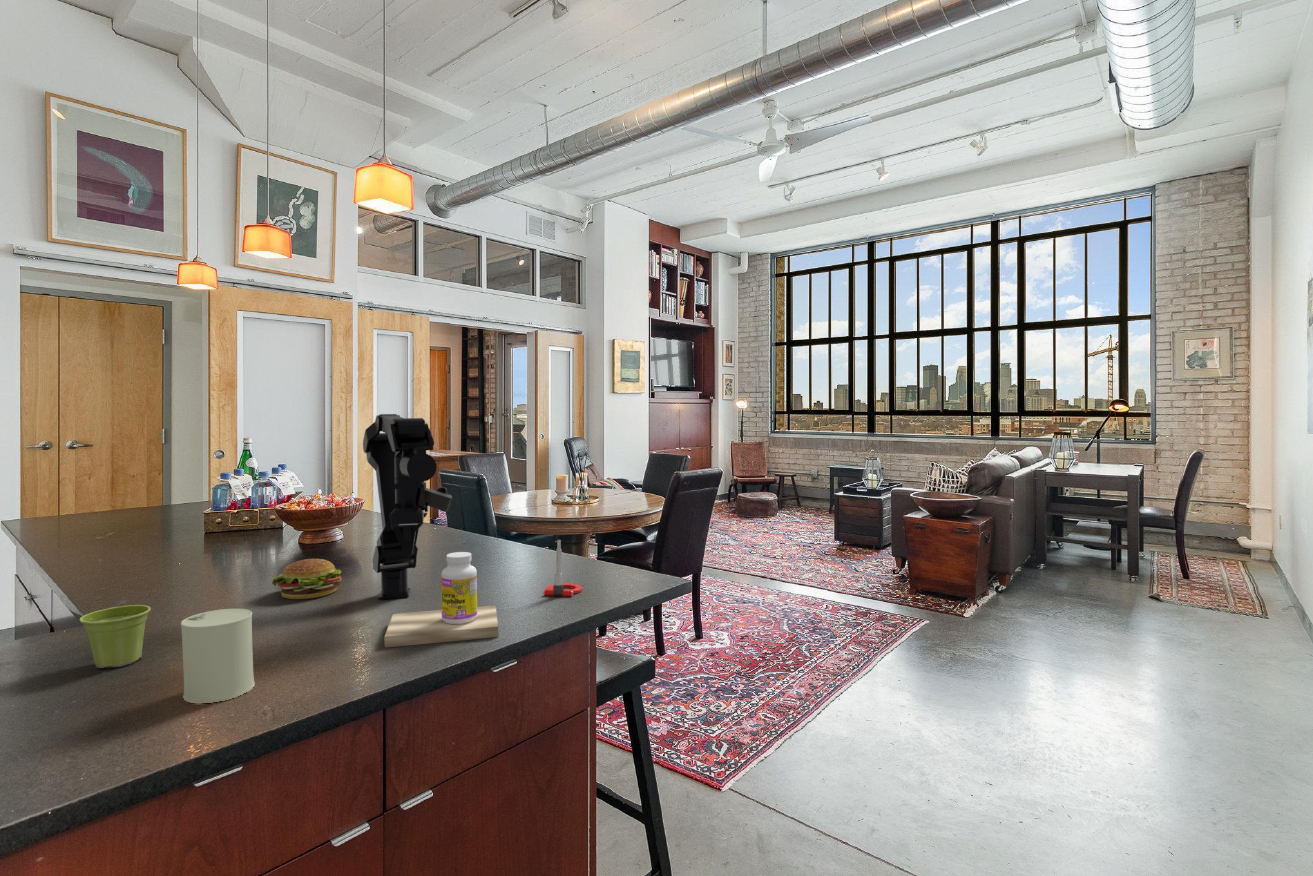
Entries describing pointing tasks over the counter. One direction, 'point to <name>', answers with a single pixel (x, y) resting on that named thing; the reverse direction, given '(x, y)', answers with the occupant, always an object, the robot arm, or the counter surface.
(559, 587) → the tow hook
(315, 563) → the food
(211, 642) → the can
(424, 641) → the birch board
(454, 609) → the supplement bottle
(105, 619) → the plant pot
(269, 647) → the counter surface
